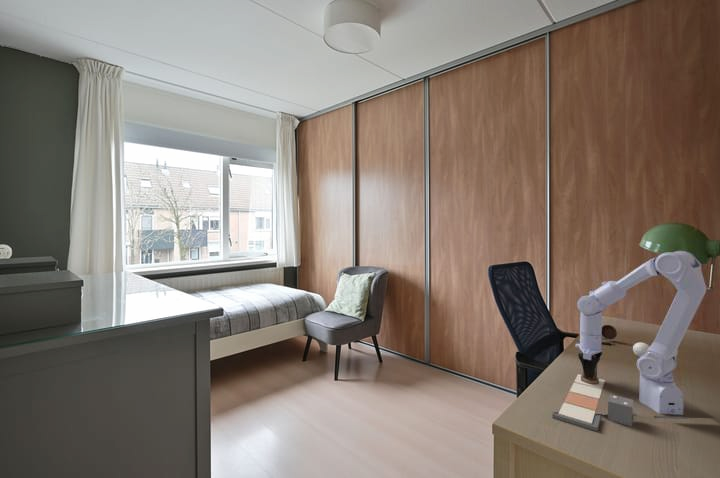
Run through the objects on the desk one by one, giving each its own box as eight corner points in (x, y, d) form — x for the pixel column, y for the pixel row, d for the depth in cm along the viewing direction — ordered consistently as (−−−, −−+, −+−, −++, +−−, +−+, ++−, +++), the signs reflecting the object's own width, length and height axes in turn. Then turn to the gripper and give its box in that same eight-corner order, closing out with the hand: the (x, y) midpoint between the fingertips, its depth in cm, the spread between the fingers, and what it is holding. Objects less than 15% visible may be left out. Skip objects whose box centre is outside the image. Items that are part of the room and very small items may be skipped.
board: (597, 431, 87) (597, 426, 87) (552, 417, 94) (552, 412, 93) (610, 384, 112) (610, 380, 112) (573, 376, 119) (573, 372, 119)
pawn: (602, 384, 109) (602, 356, 109) (586, 384, 110) (586, 355, 110) (593, 378, 114) (593, 350, 114) (577, 377, 115) (578, 350, 114)
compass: (591, 341, 153) (591, 325, 153) (602, 339, 157) (602, 322, 156) (611, 347, 146) (612, 330, 146) (622, 344, 150) (622, 327, 149)
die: (631, 426, 89) (632, 407, 89) (607, 419, 92) (608, 400, 92) (632, 418, 93) (633, 399, 93) (609, 412, 96) (610, 393, 96)
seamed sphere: (652, 357, 135) (652, 342, 135) (649, 361, 131) (650, 346, 131) (627, 351, 141) (628, 338, 140) (624, 355, 137) (625, 341, 137)
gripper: (579, 325, 120) (578, 364, 120) (572, 336, 108) (571, 379, 109) (604, 329, 115) (603, 370, 116) (599, 340, 104) (598, 386, 104)
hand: (589, 375), depth 112 cm, fingers closed on pawn, 4 cm apart
